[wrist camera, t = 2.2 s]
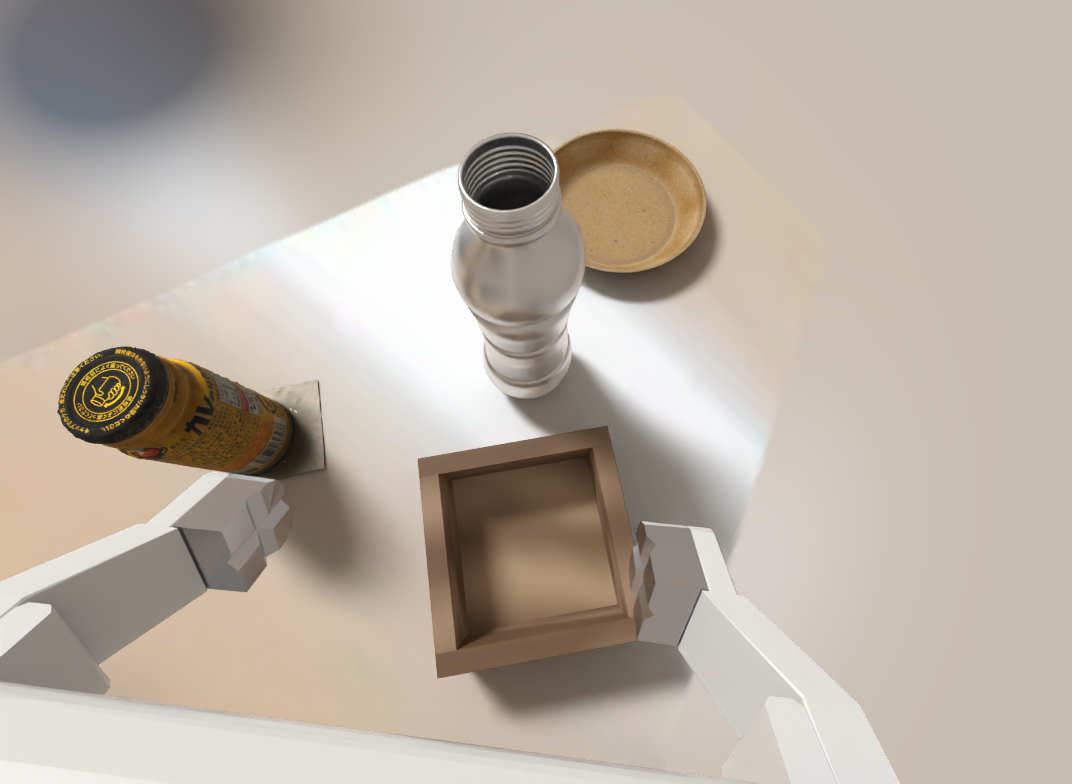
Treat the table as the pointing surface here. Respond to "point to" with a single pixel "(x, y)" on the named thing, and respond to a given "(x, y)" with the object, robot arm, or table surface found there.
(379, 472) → the table surface
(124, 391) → the condiment
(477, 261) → the plastic bottle
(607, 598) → the tray
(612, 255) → the plant saucer
